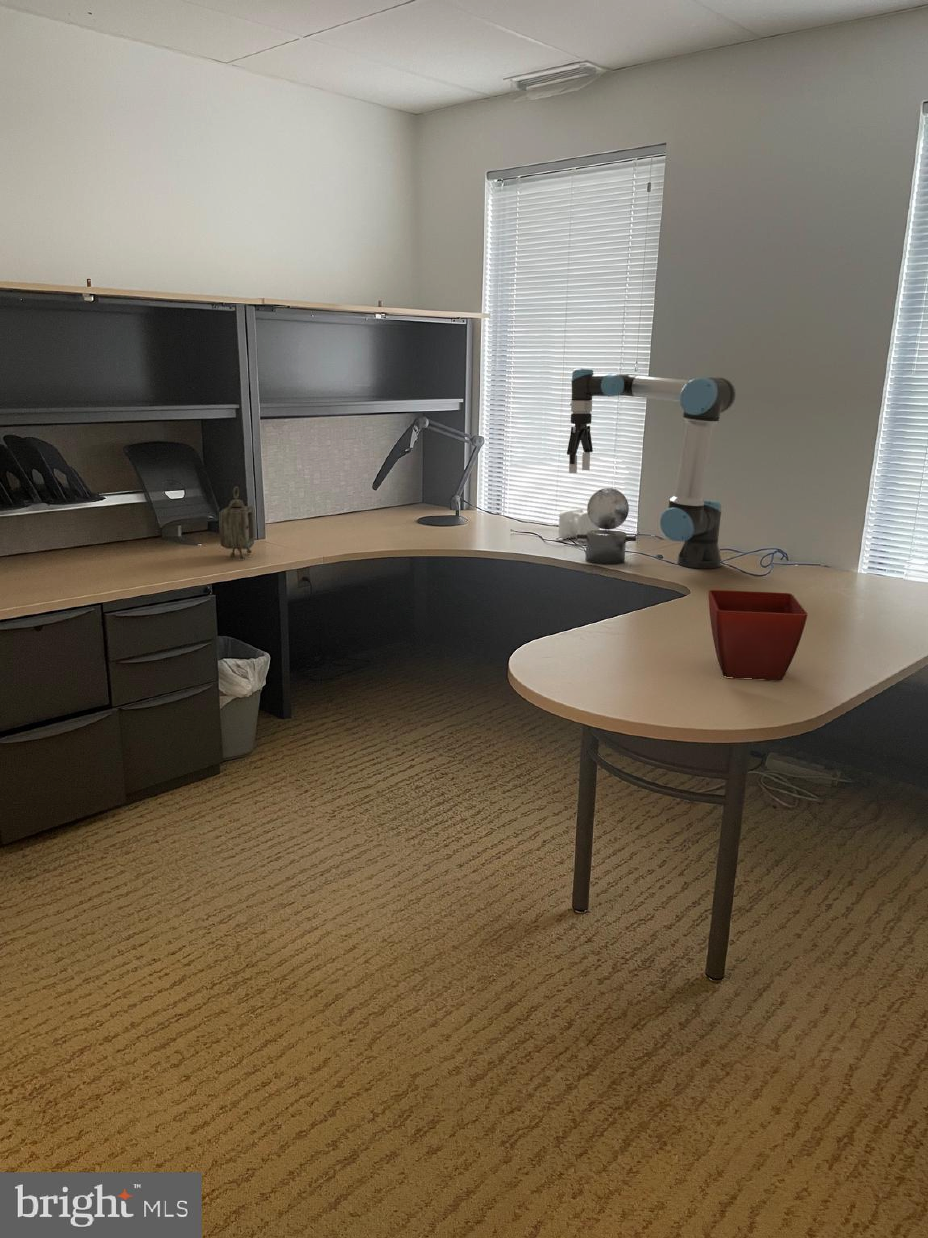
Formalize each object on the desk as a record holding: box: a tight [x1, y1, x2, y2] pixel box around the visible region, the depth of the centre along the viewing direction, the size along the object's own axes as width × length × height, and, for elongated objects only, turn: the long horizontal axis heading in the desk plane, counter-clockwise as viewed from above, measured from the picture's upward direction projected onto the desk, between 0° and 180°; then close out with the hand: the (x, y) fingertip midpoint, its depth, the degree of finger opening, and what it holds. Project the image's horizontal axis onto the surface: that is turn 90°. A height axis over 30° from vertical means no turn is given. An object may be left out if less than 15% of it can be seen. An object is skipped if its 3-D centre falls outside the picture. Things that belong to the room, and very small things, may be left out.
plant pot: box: [708, 589, 809, 682], centre depth 205 cm, size 19×19×17 cm
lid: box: [586, 487, 630, 530], centre depth 329 cm, size 15×15×3 cm
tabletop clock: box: [218, 486, 255, 560], centre depth 316 cm, size 14×9×25 cm, turn 0°
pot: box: [576, 529, 637, 566], centre depth 323 cm, size 19×14×10 cm
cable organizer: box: [558, 508, 601, 543], centre depth 363 cm, size 15×11×12 cm
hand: (579, 471), depth 332 cm, fingers open, 13 cm apart
